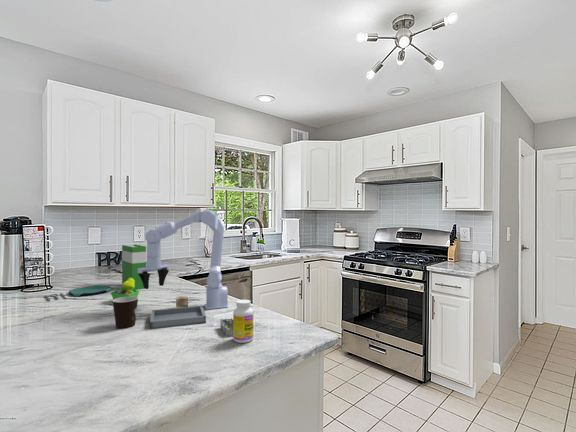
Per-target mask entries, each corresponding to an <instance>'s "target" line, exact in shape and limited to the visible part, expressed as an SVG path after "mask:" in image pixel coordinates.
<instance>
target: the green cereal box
mask: <svg viewBox="0 0 576 432" xmlns="http://www.w3.org/2000/svg"><path fill="white" fill-rule="evenodd" d="M121 247H122V248H121V269H122V270H121V273H122V274H121V277H122V280H121V283H122V284H123V283H124V282H125V281H126V280H127V279H128V278H133V279H134V281H135V283H134V284H135V287H134V289H133V290H136V291H139V290H145V289H144V286H143V282H142V280H141V278H140V276H139V275H138V268H143V267H147V245H146V246H144V245H141V244H133V245H123V244H122V245H121ZM122 284H121V285H122ZM138 289H139V290H138Z"/></svg>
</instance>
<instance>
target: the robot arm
mask: <svg viewBox="0 0 576 432" xmlns="http://www.w3.org/2000/svg"><path fill="white" fill-rule="evenodd" d="M219 217H220V216H219V215H218V214H217V213H216V212H214V211H213V210H212V209H205V210H202V211H198V212H195V213H192V214H190V215H188V216H186V217H184V218H182V219H180V220H178V221H176V222H173V221H166V222H164V224H162V225H159V226H155V227H154V228H155V229H149V230H148V231H147V232H146V233H145V235H144V237H145V240H146V267H143V268H138V275H139V276H140V278H141V280H142V282H143V286H144V289H143V290H149V289H150V286H149V285H150V284H149V283H150V277H151V273H149V272H154V271H156V272H157V274H158V285H159V286H161V287H163V286H164V285H165V280H166V279H167V278H166V277H167V275H168V274H169V272H170V270H169V269H170V264H166V263H165V264H162V260H161V259H162V253H161V252H162V251H161V247H162V246H161V240H163V239H164V240H165V239H166V238H168V237H171V236H173V235H175V234H177V233H178V230H179V229H181V228H184V227H186V226H188V225H191V224H193V223H203V224H204V225H206V226H208V227H209V228H210V229H211V230H212V232H213V233H212V234H213V235H212V236H213V237H212V246H211V255H210V257H211V258H210V264H209V265H210V267H209V272H208V273H209V274H208V276H207V278H206V282H205V283H206V286H205V288H206V289H205V291H206V292H205V293H206V294H205V295H206V297H205V298H206V299H205V301H206V303H204V306H205V309H206V310H213V309H223V308H228V307H229V306H228V305H229V303H228V301H229V299H228V298H229V297H228V294H229V291H228V287H227V286H223V284H222V280H223V276H222V272H221V271H222V270H221V269H222V267H221V265H222V256H223V244H224V237H225V236H224V234H225V226H224V225H223V222H222V220H221V219H220V218H219Z"/></svg>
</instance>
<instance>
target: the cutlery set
mask: <svg viewBox="0 0 576 432" xmlns="http://www.w3.org/2000/svg"><path fill="white" fill-rule="evenodd" d="M111 289H112V287H111V286H109V285H106V284H97V285H96V284H95V285H92V286H84V287H76V288H72V289H70V290H69V291H68V294H69V295H73V296H74V297H76V298H79V297H80V296H83V295H84V296H85V295H93V294H94V295H95V294H101V293H103V292H109V291H111ZM58 295H61V297H62V298H64V300H66V299H67V297H66V296H65V294H64V293H61V292H60V293H59V294H57V293H51V294H50V296H49V295H43V298H44V299H46V300H47V301H48V302H51V299H50V297H52V298H55V300H60V298H59V297H58Z"/></svg>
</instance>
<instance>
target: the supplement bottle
mask: <svg viewBox="0 0 576 432" xmlns="http://www.w3.org/2000/svg"><path fill="white" fill-rule="evenodd" d="M235 304H236V305H235V306H236V308H235V309H234V310H233V312H232V313H233V315H232V319H233V336H232V339H233V341H234V342H236V343H240V344H246V343H249V342H250V343H251V342H252V341H253V339H254V310H253V309H252V307H251V304H252V303H251V300H249V299H238V300H236V303H235Z"/></svg>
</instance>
